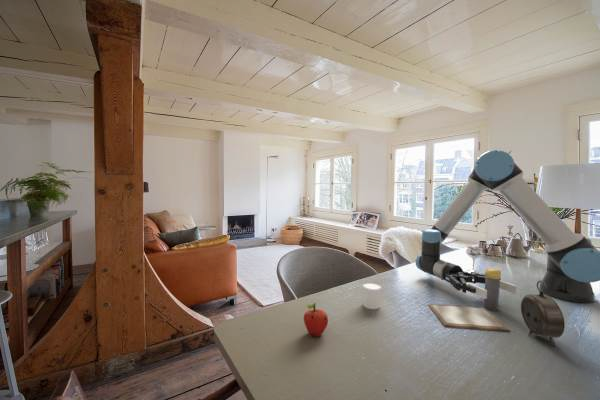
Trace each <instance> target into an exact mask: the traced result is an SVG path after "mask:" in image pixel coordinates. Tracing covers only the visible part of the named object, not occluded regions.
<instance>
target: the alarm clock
mask: <svg viewBox="0 0 600 400" xmlns="http://www.w3.org/2000/svg"><path fill="white" fill-rule="evenodd" d="M541 282H543V281H542V280H538V281H537V283H536V288H537V290H538V292H539V294H536V293H535V294H533V293H531V294H526V295H524V297H523V298H522V299H521V303H520V312H521V316H522V319H523V321H524V324H525V325H526V327H527V328H528V329H529V333H528V336H529V337H530V336H531V335H532V334H534V335H535V336H538V337H541V338H542V337H543V338H548V339H549V341H550V343H551V346H552V347H553V348H556V345H555V341H554V339H557V338H560V337H561V336H562V335H563V334H564V332H565V318H564V314H563V312H562V310H561V308H560V306H559V305H558V303H557V302H556V301H555V300H554V298H552V296H550V295H547V294H545V292H546V290H547V286H546V284H545V282H543V283H544V285H545V291H542V290H540V287H539V284H540V283H541Z"/></svg>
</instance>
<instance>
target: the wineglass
mask: <svg viewBox="0 0 600 400" xmlns="http://www.w3.org/2000/svg"><path fill="white" fill-rule="evenodd" d="M465 253H466V255H467V256H468V257H469V258H471V260H472V269H467V272H468V273H470V272H471V271H472V272H475V273H479V274H480V272H478V270H475V261H476V259H479V258H481V257H482V256H483V248H482V247H478V246H473V245H471V246H470V245H469V246H466V249H465Z"/></svg>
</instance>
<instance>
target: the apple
mask: <svg viewBox="0 0 600 400" xmlns="http://www.w3.org/2000/svg"><path fill="white" fill-rule="evenodd" d="M316 305H317V303H316V302H314V303H313V304H308V305H307V306H306V307H307V308H308V309H309V310H307V311H305V312H304V315H303V322H304V326H305V328H306V331H307V332H308V334H309V335H310V336H312V337H320V336H321V335H322V334H323V333H324V332H325V330H326V328H327V327H328V322H329V317H328V314H327V313H326V310H323V309H316Z"/></svg>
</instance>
